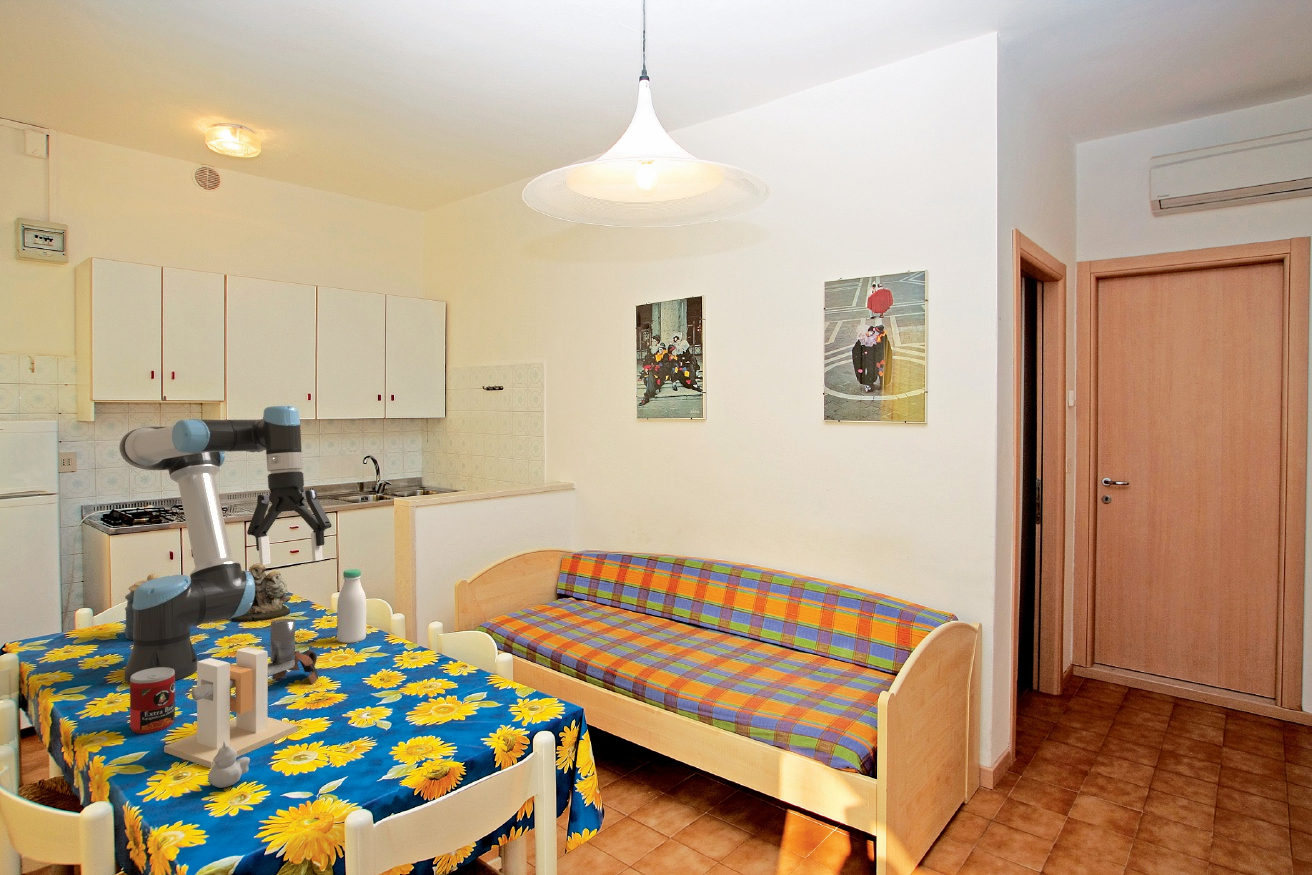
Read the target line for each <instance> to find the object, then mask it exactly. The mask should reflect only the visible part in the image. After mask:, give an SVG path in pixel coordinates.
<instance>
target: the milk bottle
mask: <svg viewBox="0 0 1312 875" xmlns="http://www.w3.org/2000/svg"><path fill="white" fill-rule="evenodd" d="M361 575H362V571H361V570H360V569H357V568H352V569H351V568H350V569H346V570H344V571H343V580H344V582H343V585H342V587H341V590H340V592H339V594H338V598H337V606H336V607H337V608H336V609H337V610H336V611H337V612H336V615H337V616H336V617H337V619H336V627H337V628H336V636H337V637H336V639H337V641H338V642H339V643H343V644H345V643H346V644H348V643H349V644H350V643H357V642H361V641H363V640H365V639H366V637H367V598H366V592H365V591H364V589H363V587H362V583H361V580H360V579H361Z"/></svg>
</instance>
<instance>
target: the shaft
mask: <svg viewBox="0 0 1312 875" xmlns="http://www.w3.org/2000/svg"><path fill="white" fill-rule="evenodd" d="M269 646H270V647H269V648H270V659H269V661H270V662H269V663H268V677H269V676H271V675H272V676H273V674H275V673H278V672H281V671H284V670H288V669H290V668H293V667H294V665H295V660H294V659H295V651H296V620H295V619H294V618H277V619H275V620H272V621H270V645H269ZM234 688H236V680H235V679H231V678H230V689H231V690H232V689H234ZM211 695H213V682H210V683H207V684H204V685H201V686H198V687H197V686H195V687H193V688H191V698H192V699H193V700H194V701H197V700H199V699H202V698H205V697H208V696H211Z"/></svg>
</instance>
